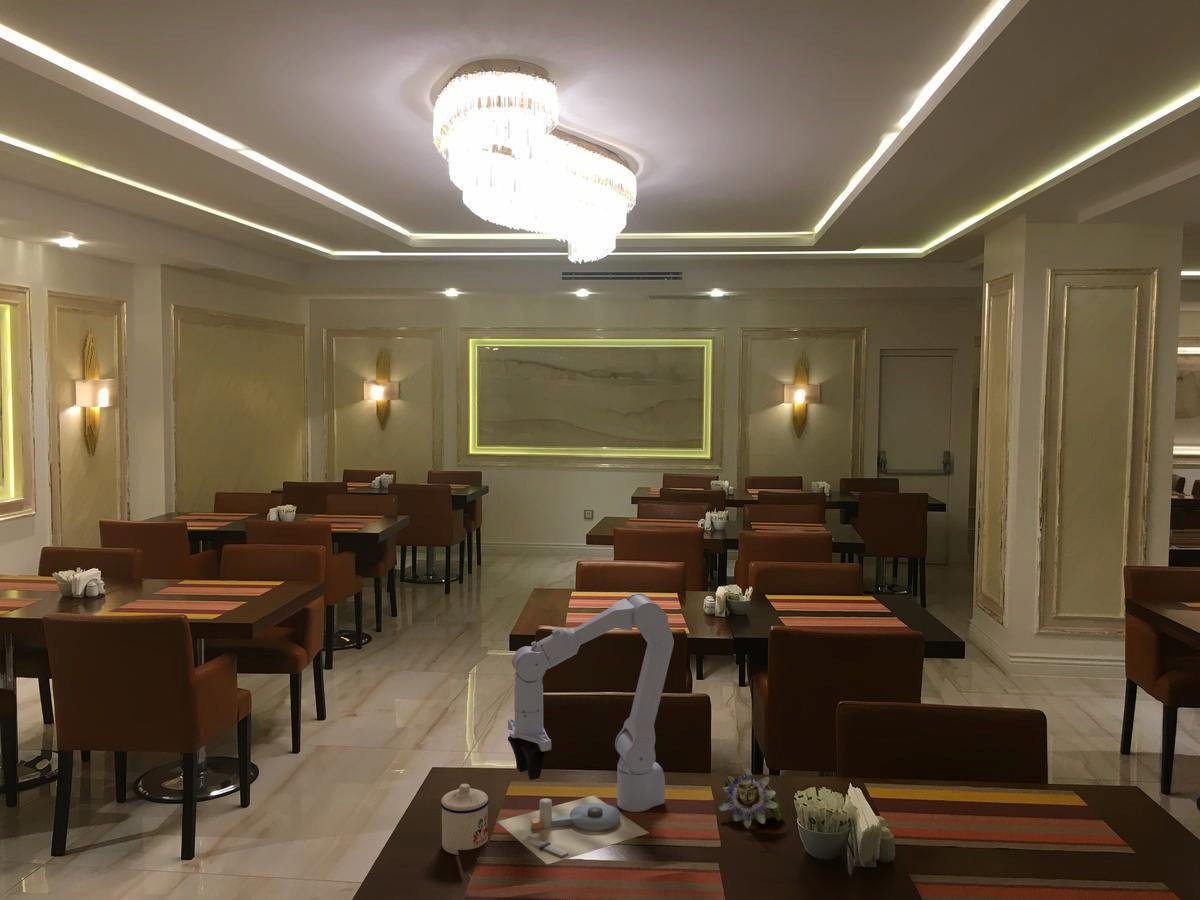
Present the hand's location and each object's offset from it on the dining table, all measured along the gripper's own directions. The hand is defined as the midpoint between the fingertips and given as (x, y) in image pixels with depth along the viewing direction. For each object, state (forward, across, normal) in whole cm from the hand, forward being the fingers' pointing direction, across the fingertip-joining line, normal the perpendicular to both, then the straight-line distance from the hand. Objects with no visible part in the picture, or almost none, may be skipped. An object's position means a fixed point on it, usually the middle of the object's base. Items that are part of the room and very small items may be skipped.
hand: (529, 774), depth 191 cm
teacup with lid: (+10, +1, -14) cm, 17 cm away
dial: (+8, +8, +6) cm, 13 cm away
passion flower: (+10, +23, +38) cm, 45 cm away
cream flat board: (+9, +9, +4) cm, 14 cm away
